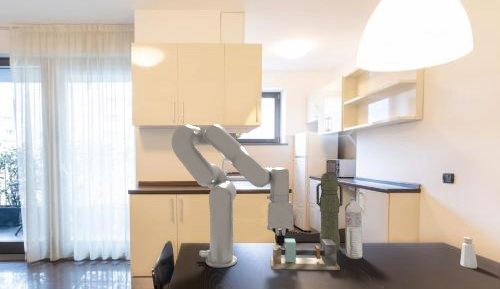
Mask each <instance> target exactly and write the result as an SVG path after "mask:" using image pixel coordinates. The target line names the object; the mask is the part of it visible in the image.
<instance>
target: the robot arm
mask: <svg viewBox="0 0 500 289" xmlns="http://www.w3.org/2000/svg"><path fill="white" fill-rule="evenodd" d="M171 146H172V150H173V153H174V154H175V156H176V158H177V159H178V160H179V162H180V163H181V164H182V165H183V166H184V167H185V169H186V170H187V171H188V173H189V174H190V175H191V177H192V178H193V179H194V180H195V181H196V182H197V184H198V185H199V186H201V187H207V188H208V189H209V190H210V192H209V195H208V205H209V207H208V208H209V249H207V250H199V251H198V252H199V253H198V254H199V256H200V258H206V259H205V263H206V265H208V266H209V267H212V268H220V269H221V268H228V267H232V266H234V265H235V264H236V263H237V262H238V258H237V256H236V255H234V206H233V205H234V204H233V202H234V200H235V198H236V196H237V189H236V186H235V185H234V183H233V182H232V181H231V179H230V178H229V177H228V176H227V175H226V174H225V172H224V171H223V170H222V169H221V168H220V167H219V166H218V165H217V164H216V163H211V162H208V161H207V159H206V158H205V157H204V156H203V154H202V153H201V152H200V151H199V150H198V149H197V148H196V146H198V147H199V146H200V147H202V146H203V147H204V146H206V147H207V146H212V147H213V148H214V149H215V150H216V151H217V152H218V153H219V154H220V155H221V156H223V158H225V160H227V161H228V162H229V163H230V164H231V166H233V168H235V170H237V172H238V173H239V174H240V175H242V176H243V178H244V179H245V180H247V181H248V182H249V183H250V184H251V185H253V186H254V187H256V188H264V187H265V186H267V185H270V187H269V188H270V194H269V195H266V199H267V200H269V201H268V205H267V226H266V230H268V231H271V232H273V234H275V235H276V243H277V244H278V246H282V247H283V245H284V244H285V240H284V239H285V236H286V234H287V233H288V232H290V231H294V229H295V228H294V210H293V204H292V201H290V171H289V168H287V167H273V168H272V167H270V168H269V167H263V166H261V165H260V164H259V162H257V161H256V160H255V159H254V158H253V157H252V156H251V155H250V154H249V153H248V152H247V150H246V148H245V147H244V146H243V145H242V144H241V143H240V142H239V141H238V140H236V139H235V138H234V137H233V136H232V135H231V134H230V133H229V132H228V131H227V129H226V128H225V127H223V126H222V125H219V124H216V123H214V124H210V125H209V126H193V125H191V124H182V125H179V126H178V127H176V128H175V129H174V132H173V133H172V137H171ZM280 229H281V232H280V231H279V230H280Z"/></svg>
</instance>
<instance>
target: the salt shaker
mask: <svg viewBox="0 0 500 289" xmlns="http://www.w3.org/2000/svg"><path fill="white" fill-rule="evenodd" d="M477 262H478V261H477V255H476V249H475V245H474V244H473V238H472V237H469V236H463V242H462V244H461V252H460V264H459V265H460V266H462V267H464V268H468V269H477V268H478V263H477Z"/></svg>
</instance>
